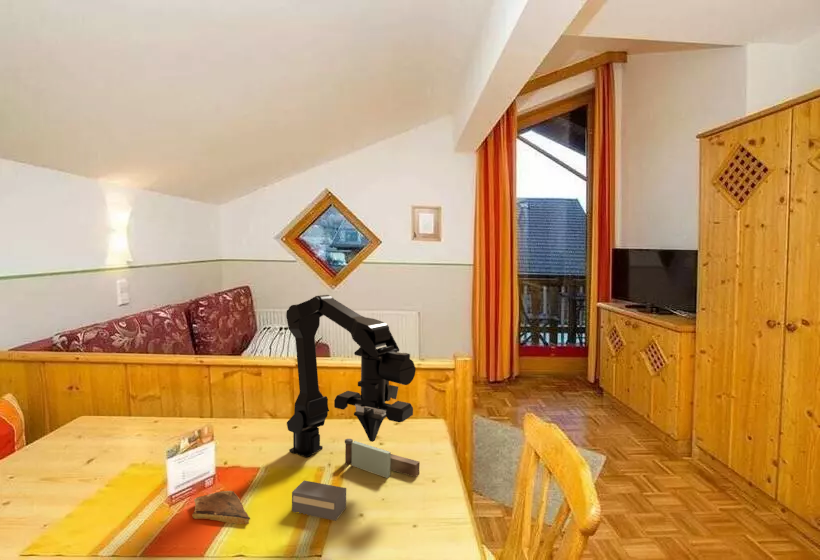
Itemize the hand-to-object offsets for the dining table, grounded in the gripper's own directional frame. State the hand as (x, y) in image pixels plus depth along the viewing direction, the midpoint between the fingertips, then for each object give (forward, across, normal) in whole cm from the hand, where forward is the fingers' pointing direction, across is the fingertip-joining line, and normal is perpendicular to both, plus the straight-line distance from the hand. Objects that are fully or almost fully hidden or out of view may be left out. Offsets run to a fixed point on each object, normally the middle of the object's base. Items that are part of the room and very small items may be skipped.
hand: (372, 441), depth 110 cm
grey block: (+10, +3, +16) cm, 19 cm away
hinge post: (+9, +10, -4) cm, 14 cm away
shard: (+10, +20, +25) cm, 34 cm away
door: (+9, +3, -4) cm, 11 cm away
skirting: (+9, +1, -7) cm, 12 cm away
